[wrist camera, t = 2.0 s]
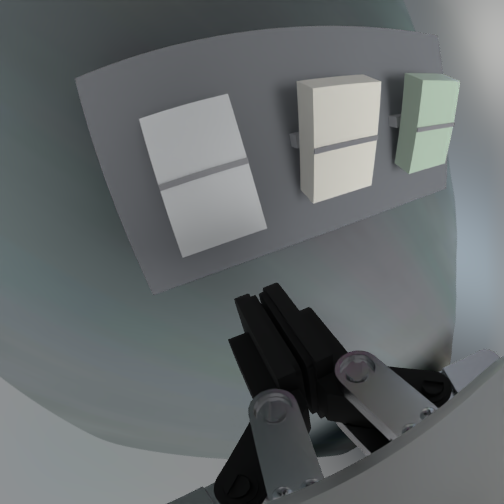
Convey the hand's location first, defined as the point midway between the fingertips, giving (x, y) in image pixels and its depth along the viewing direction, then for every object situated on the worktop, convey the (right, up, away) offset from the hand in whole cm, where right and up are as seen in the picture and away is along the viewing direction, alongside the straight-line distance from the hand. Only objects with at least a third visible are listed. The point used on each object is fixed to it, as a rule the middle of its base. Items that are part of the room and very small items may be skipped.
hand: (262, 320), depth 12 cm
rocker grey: (-3, +6, +3) cm, 8 cm away
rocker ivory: (+5, +9, +5) cm, 11 cm away
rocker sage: (+12, +12, +6) cm, 18 cm away
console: (+2, +13, +12) cm, 17 cm away
